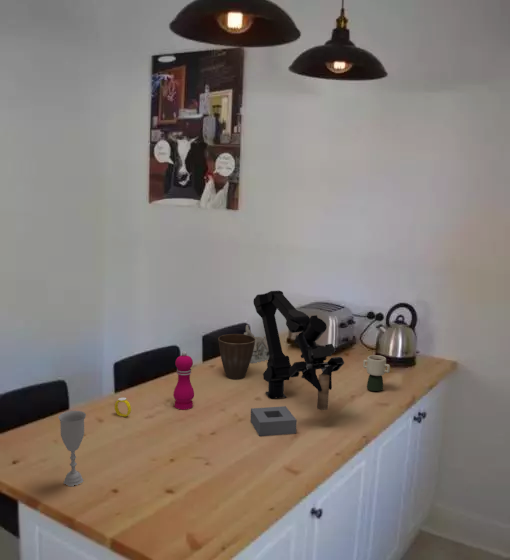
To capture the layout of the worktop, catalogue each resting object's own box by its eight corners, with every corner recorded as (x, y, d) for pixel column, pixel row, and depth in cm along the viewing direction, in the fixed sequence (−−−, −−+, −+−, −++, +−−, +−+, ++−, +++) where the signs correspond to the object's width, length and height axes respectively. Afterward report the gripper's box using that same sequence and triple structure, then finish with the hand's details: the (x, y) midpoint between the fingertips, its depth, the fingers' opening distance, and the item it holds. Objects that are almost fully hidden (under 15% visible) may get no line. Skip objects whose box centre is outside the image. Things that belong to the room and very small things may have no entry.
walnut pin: (315, 406, 200) (317, 374, 198) (325, 405, 200) (327, 373, 199) (319, 410, 196) (320, 377, 194) (329, 409, 197) (331, 377, 195)
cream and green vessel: (391, 390, 236) (393, 358, 234) (384, 395, 230) (386, 362, 228) (365, 384, 242) (367, 353, 240) (358, 389, 236) (359, 357, 234)
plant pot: (261, 375, 249) (262, 337, 247) (240, 385, 237) (242, 345, 234) (231, 368, 257) (232, 332, 254) (210, 377, 245) (210, 339, 242)
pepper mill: (190, 411, 209) (191, 355, 206) (170, 409, 210) (170, 353, 207) (196, 403, 216) (197, 349, 213) (177, 401, 217) (177, 347, 214)
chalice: (63, 475, 162) (61, 410, 159) (89, 474, 163) (88, 410, 160) (56, 488, 155) (55, 421, 152) (84, 488, 155) (83, 421, 152)
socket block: (250, 421, 202) (250, 408, 201) (285, 418, 205) (285, 406, 204) (259, 436, 190) (259, 422, 190) (296, 433, 193) (296, 419, 192)
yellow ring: (132, 416, 203) (132, 399, 202) (127, 419, 201) (127, 401, 200) (118, 412, 206) (118, 395, 205) (113, 415, 203) (112, 398, 202)
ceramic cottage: (235, 362, 266) (238, 328, 264) (241, 353, 282) (244, 321, 280) (270, 367, 264) (273, 333, 262) (274, 357, 280) (278, 326, 278)
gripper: (294, 338, 194) (311, 382, 186) (342, 333, 202) (361, 374, 194) (281, 355, 202) (297, 398, 194) (328, 350, 210) (345, 390, 203)
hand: (325, 390), depth 196 cm, fingers closed on walnut pin, 3 cm apart
